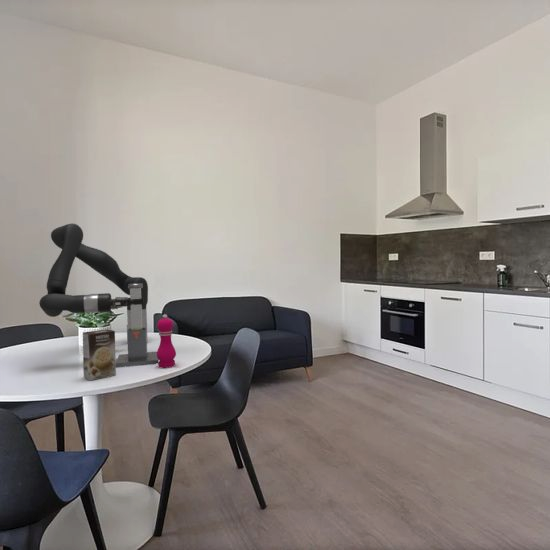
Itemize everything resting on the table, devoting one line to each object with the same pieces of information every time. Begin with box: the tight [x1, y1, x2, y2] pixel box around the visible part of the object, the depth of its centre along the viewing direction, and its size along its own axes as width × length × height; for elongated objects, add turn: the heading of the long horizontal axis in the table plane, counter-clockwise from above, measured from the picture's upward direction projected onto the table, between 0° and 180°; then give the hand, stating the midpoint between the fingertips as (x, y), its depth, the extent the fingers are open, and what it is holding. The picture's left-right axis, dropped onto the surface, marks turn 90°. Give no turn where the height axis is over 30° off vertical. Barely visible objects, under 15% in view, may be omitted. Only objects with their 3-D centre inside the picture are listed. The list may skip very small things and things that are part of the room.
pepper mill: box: [156, 314, 177, 369], centre depth 152 cm, size 7×7×20 cm
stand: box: [116, 327, 159, 368], centre depth 162 cm, size 16×16×13 cm
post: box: [128, 284, 143, 331], centre depth 161 cm, size 6×6×24 cm
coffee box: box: [82, 329, 117, 381], centre depth 140 cm, size 9×6×16 cm
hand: (143, 301), depth 162 cm, fingers closed on post, 4 cm apart
